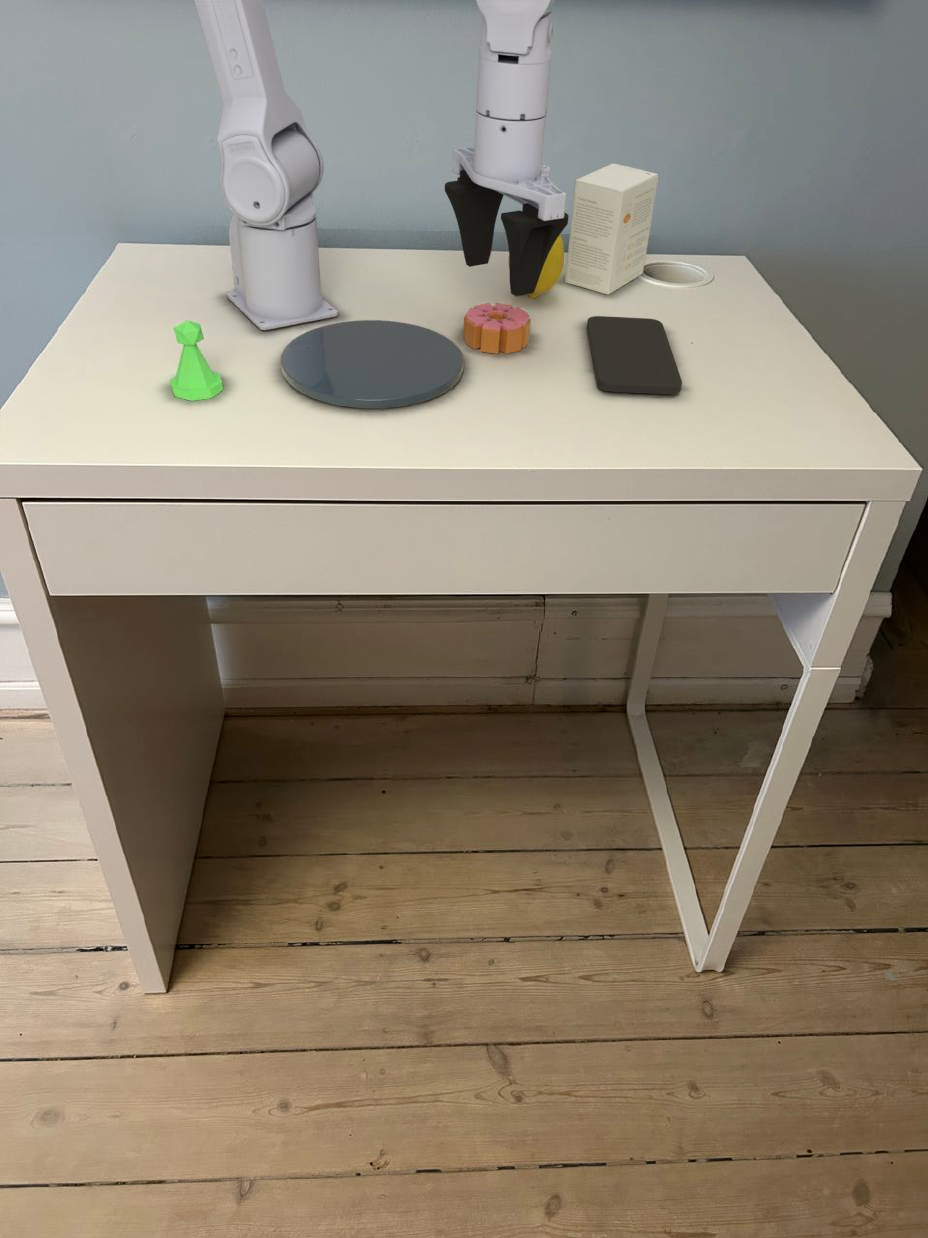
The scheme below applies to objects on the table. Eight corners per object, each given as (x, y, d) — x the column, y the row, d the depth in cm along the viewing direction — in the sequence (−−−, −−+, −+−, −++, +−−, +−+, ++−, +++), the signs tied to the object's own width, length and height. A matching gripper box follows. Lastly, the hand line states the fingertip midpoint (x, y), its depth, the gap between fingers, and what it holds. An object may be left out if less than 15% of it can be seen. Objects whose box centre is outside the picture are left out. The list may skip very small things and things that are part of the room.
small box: (599, 262, 107) (612, 161, 100) (644, 274, 104) (660, 172, 98) (562, 282, 102) (573, 177, 95) (608, 296, 99) (623, 189, 93)
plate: (253, 349, 86) (252, 339, 86) (408, 318, 93) (408, 308, 92) (329, 427, 76) (328, 416, 75) (497, 385, 83) (498, 375, 82)
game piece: (228, 378, 82) (219, 310, 78) (217, 401, 79) (208, 332, 75) (177, 376, 82) (166, 308, 78) (165, 399, 79) (152, 330, 75)
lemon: (556, 311, 96) (564, 229, 91) (501, 304, 97) (507, 223, 91) (562, 290, 100) (571, 211, 95) (510, 284, 101) (516, 205, 96)
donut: (452, 333, 91) (453, 309, 89) (505, 322, 93) (507, 298, 92) (486, 358, 87) (487, 333, 85) (540, 346, 89) (542, 321, 88)
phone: (661, 318, 93) (685, 387, 82) (660, 326, 94) (683, 396, 82) (586, 315, 93) (598, 383, 82) (585, 323, 94) (597, 392, 82)
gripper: (604, 129, 75) (582, 299, 83) (503, 88, 84) (493, 245, 93) (530, 138, 72) (515, 313, 80) (433, 95, 81) (430, 256, 90)
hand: (499, 278), depth 86 cm, fingers open, 7 cm apart
